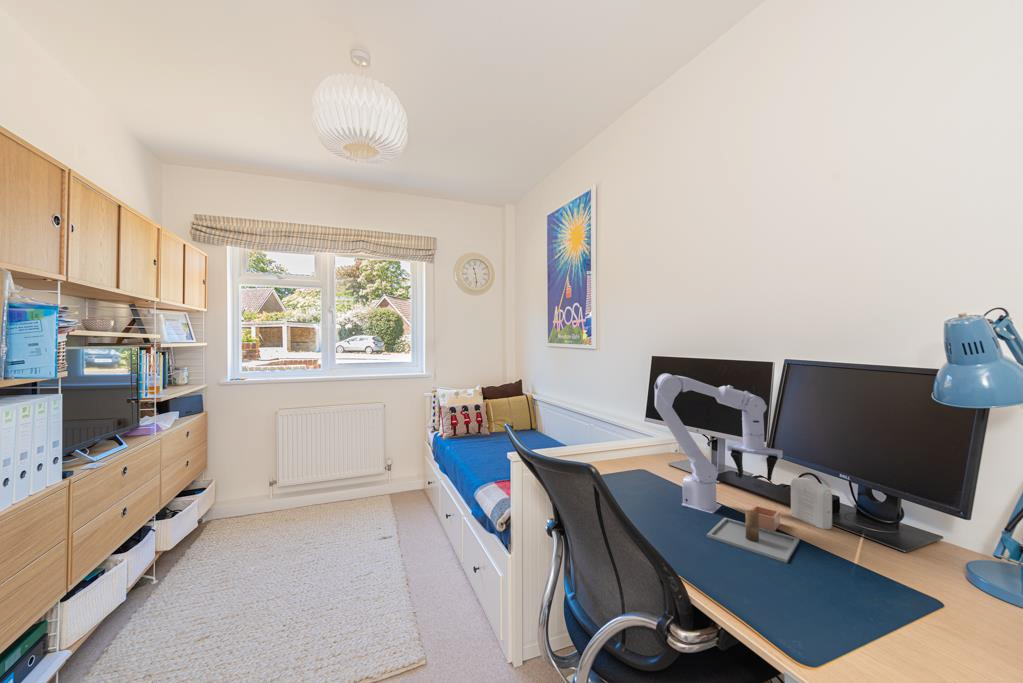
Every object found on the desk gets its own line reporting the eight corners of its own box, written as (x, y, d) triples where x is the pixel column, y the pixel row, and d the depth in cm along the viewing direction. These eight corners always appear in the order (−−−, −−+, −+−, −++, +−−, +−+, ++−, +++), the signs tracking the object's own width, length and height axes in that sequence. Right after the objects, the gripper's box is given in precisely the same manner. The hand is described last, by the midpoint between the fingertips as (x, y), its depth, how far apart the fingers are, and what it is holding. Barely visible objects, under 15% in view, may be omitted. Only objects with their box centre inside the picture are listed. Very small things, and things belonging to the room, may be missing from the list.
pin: (744, 538, 105) (743, 512, 105) (747, 534, 107) (747, 509, 107) (757, 543, 103) (756, 516, 103) (760, 538, 105) (760, 512, 105)
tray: (706, 538, 106) (706, 534, 106) (724, 521, 116) (724, 517, 116) (786, 565, 93) (786, 559, 93) (799, 543, 103) (799, 538, 103)
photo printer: (835, 529, 110) (834, 485, 110) (824, 532, 109) (823, 487, 109) (798, 514, 120) (798, 473, 120) (788, 516, 119) (787, 475, 119)
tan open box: (749, 525, 113) (749, 511, 113) (755, 518, 117) (755, 505, 117) (774, 532, 109) (774, 518, 109) (780, 525, 113) (779, 511, 113)
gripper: (724, 432, 125) (725, 476, 125) (778, 439, 115) (780, 485, 115) (729, 428, 130) (731, 470, 130) (782, 434, 120) (784, 479, 120)
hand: (754, 477), depth 123 cm, fingers open, 7 cm apart
